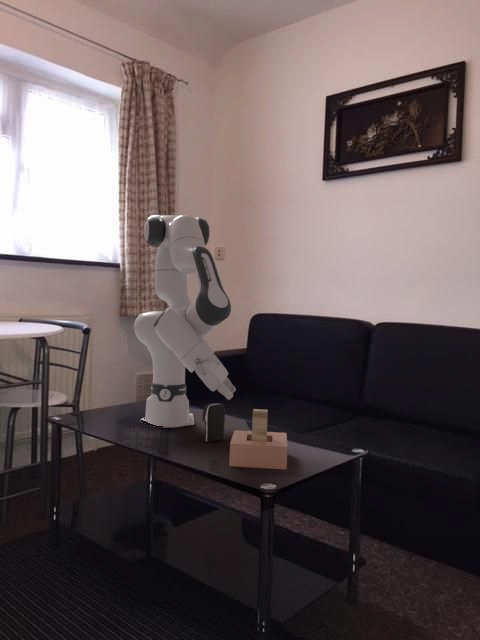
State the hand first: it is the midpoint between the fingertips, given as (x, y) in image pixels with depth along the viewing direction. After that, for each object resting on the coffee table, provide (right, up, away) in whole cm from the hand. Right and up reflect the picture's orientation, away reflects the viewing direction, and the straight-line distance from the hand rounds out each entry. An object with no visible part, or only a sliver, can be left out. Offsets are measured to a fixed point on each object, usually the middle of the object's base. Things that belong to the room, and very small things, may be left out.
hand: (232, 394), depth 148 cm
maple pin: (+7, -16, 0) cm, 18 cm away
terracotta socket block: (+7, -18, 0) cm, 19 cm away
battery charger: (-7, -17, +19) cm, 26 cm away
